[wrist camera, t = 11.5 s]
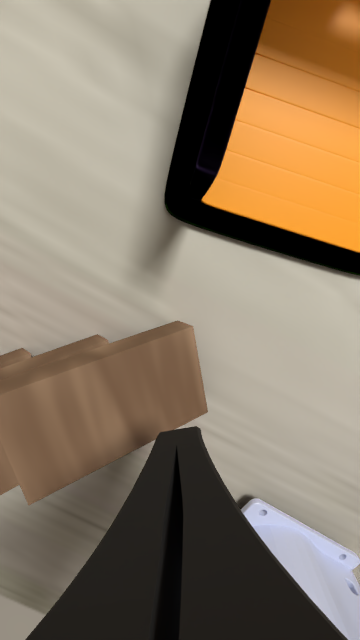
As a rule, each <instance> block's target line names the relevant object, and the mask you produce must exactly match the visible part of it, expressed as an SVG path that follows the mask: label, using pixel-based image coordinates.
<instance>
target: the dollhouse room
mask: <svg viewBox="0 0 360 640" xmlns="http://www.w3.org/2000/svg"><path fill="white" fill-rule="evenodd" d="M165 205H166V208H167V210H168V212H169V213H170V214H171V215H172V216H174V217H175V218H177V219H179V220H181V221H183V222H186V223H188V224H191V225H194V226H197V227H200V228H203V229H206V230H209V231H212V232H215V233H218V234H221V235H224V236H227V237H230V238H233V239H237V240H240V241H243V242H246V243H249V244H253V245H256V246H259V247H262V248H265V249H269V250H272V251H275V252H279V253H282V254H285V255H288V256H292V257H295V258H298V259H302V260H305V261H309V262H312V263H315V264H319V265H322V266H326V267H329V268H333V269H336V270H340V271H343V272H347V273H351V274H355V275H360V0H211V3H210V7H209V11H208V14H207V18H206V22H205V26H204V30H203V34H202V38H201V42H200V46H199V50H198V54H197V58H196V62H195V66H194V70H193V74H192V78H191V82H190V86H189V90H188V94H187V98H186V102H185V106H184V110H183V114H182V119H181V123H180V127H179V131H178V135H177V139H176V144H175V148H174V152H173V157H172V161H171V165H170V170H169V174H168V179H167V184H166V191H165Z"/></svg>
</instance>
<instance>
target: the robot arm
mask: <svg viewBox="0 0 360 640" xmlns="http://www.w3.org/2000/svg"><path fill="white" fill-rule="evenodd" d="M359 563H360V559H359V557H358V556H357V554H356V553H354V552H353V551H351V550H349V549H347V548H346V547H344V546H342V545H340V544H339V543H337V542H335V541H333V540H331V539H330V538H328V537H326V536H324V535H323V534H321V533H319V532H317V531H315V530H314V529H312V528H310V527H308V526H307V525H305V524H303V523H301V522H300V521H298V520H296V519H294V518H292V517H291V516H289V515H287V514H285V513H284V512H282V511H280V510H278V509H277V508H275V507H273V506H271V505H269V504H268V503H266V502H264V501H262V500H261V499H258V498H254V499H251V500H250V501H249V502H248V503H247V504H246V505H245V506H244V507H243V508H242V509H241V510H240V508H239V506H238V505H237V503H236V502H235V500H234V499H233V497H232V496H231V494H230V492H229V491H228V489H227V487H226V486H225V484H224V482H223V481H222V479H221V477H220V475H219V473H218V472H217V470H216V468H215V466H214V464H213V462H212V460H211V458H210V456H209V454H208V451H207V449H206V447H205V444H204V442H203V439H202V435H201V430H200V428H198V427H197V426H195V427H189V428H183V429H176V430H170V431H164V432H160V433H159V434H158V436H157V438H156V441H155V443H154V446H153V448H152V450H151V453H150V455H149V457H148V459H147V461H146V463H145V466H144V468H143V470H142V472H141V473H140V475H139V477H138V479H137V481H136V483H135V485H134V487H133V489H132V491H131V493H130V494H129V496H128V498H127V500H126V501H125V503H124V505H123V507H122V508H121V510H120V512H119V513H118V515H117V517H116V519H115V520H114V522H113V523H112V525H111V527H110V528H109V530H108V531H107V533H106V534H105V536H104V537H103V539H102V540H101V542H100V543H99V545H98V546H97V548H96V549H95V551H94V552H93V554H92V555H91V557H90V558H89V559H88V561H87V562H86V564H85V565H84V566H83V568H82V569H81V570H80V572H79V573H78V574H77V576H76V577H75V579H74V580H73V581H72V583H71V584H70V585H69V587H68V588H67V589H66V591H65V592H64V593H63V594H62V596H61V597H60V598H59V600H58V601H57V602H56V603H55V605H54V606H53V607H52V608H51V610H50V611H49V612H48V613H47V614H46V616H45V617H44V618H43V619H42V620H41V622H40V623H39V624H38V625H37V627H36V628H35V629H34V630H33V631H32V632H31V634H30V635H29V636H28V637H27V639H26V640H360V585H359V583H358V581H357V580H356V578H355V576H354V574H353V572H352V570H353V569H354V568H355V567H357V566H358V565H359Z"/></svg>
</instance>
